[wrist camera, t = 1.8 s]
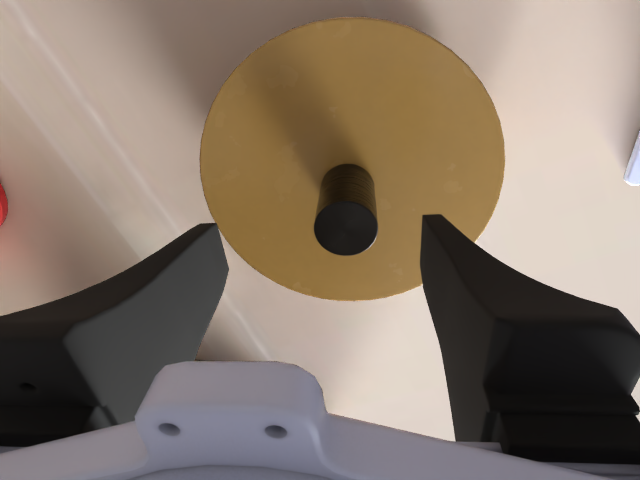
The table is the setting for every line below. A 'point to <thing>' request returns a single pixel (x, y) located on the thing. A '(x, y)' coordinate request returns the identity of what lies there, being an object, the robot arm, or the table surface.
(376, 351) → the table surface
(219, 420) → the robot arm
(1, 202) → the canned food
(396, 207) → the tin lid
